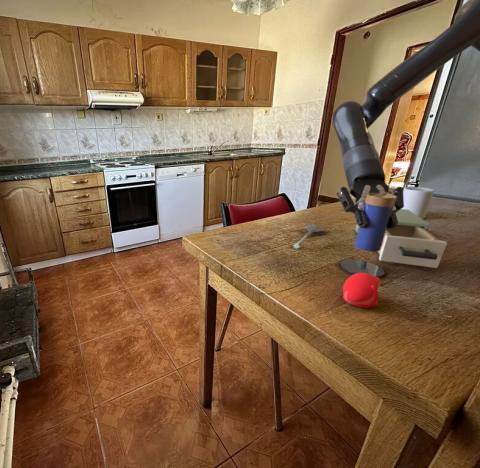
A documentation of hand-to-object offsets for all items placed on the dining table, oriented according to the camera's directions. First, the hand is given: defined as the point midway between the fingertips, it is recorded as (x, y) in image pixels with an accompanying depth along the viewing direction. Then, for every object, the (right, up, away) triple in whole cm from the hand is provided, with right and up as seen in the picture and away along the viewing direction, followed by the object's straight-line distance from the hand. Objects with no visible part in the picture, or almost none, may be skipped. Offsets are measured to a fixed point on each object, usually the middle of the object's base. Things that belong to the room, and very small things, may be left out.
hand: (378, 226), depth 59 cm
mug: (+50, +6, +44) cm, 67 cm away
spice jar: (0, -5, +4) cm, 6 cm away
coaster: (+1, -11, +6) cm, 12 cm away
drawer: (+14, -8, +10) cm, 19 cm away
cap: (-9, -16, -6) cm, 19 cm away
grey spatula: (-2, -3, +26) cm, 26 cm away
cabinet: (+20, -4, +22) cm, 30 cm away
